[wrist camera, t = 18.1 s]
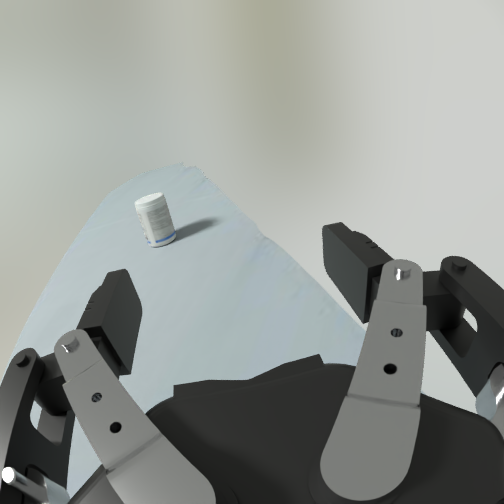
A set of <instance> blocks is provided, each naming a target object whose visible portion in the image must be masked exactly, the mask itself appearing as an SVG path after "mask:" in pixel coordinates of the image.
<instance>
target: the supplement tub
mask: <svg viewBox="0 0 504 504" xmlns="http://www.w3.org/2000/svg"><path fill="white" fill-rule="evenodd" d="M135 206H136V210H137V213H138V216H139V219H140V222H141V225H142V228H143V231H144V234H145V237H146V239H147V242H148V245H149V246H151V247H160V246H163V245H166V244H168V243H170V242H172V241H173V240H174V239H175V237H176V233H175V229H174V226H173V223H172V219H171V216H170V213H169V209H168V206H167V203H166V199H165V197H164V194H163V193H155V194H151V195H148V196H145V197H143V198H141V199H139V200H137V201H136V202H135Z"/></svg>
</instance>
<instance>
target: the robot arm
mask: <svg viewBox="0 0 504 504" xmlns="http://www.w3.org/2000/svg"><path fill="white" fill-rule="evenodd" d="M322 236H323V258H324V266H325V269H326V272H327V274H328V275H329V277H330V278H331V280H332V281H333V282H334V284H335V285H336V286H337V288H338V289H339V291H340V292H341V293H342V295H343V296H344V298H345V299H346V300H347V302H348V303H349V304H350V306H351V307H352V309H353V310H354V312H355V313H356V315H357V316H358V317H359V319H360V320H361V322H362V323H363V324H364V323H367V322H369V324H368V328H367V331H366V335H365V339H364V342H363V346H362V349H361V353H360V356H359V359H358V363H357V366H351V365H346V364H333V363H328V364H324V363H323V361H322V359H321V357H320V355H319V354H317V355H314V356H310V357H307V358H303V359H299V360H296V361H292V362H288V363H284V364H282V365H280V366H278V367H276V368H274V369H271V370H269V371H267V372H265V373H263V374H261V375H258V376H256V377H254V378H252V379H249V380H205V381H199V382H193V383H186V384H179V385H174V395H173V397H170V398H168V399H166V400H164V401H162V402H160V403H159V404H157V405H155V406H154V407H153V408H151V409H150V410H149V411H148V412H147V413H146V414H145V413H144V412H143V411H142V410H141V409H140V407H139V406H138V405H137V404H136V402H135V401H134V400H133V399H132V397H131V396H130V395H129V394H128V392H127V391H126V390H125V388H124V387H123V386H122V384H121V383H120V382H119V376H120V375H129V374H131V370H132V364H133V358H134V353H135V348H136V342H137V337H138V332H139V327H140V322H141V318H142V306H141V302H140V299H139V297H138V295H137V292H136V290H135V287H134V285H133V283H132V280H131V278H130V275H129V273H128V271H127V270H126V269H121V270H117V271H113V272H108V273H107V275H106V277H105V279H104V282H103V284H102V286H100V287H99V288H98V289H97V290H96V291H95V292H94V293H93V294H92V295H91V298H90V300H89V302H88V304H87V306H86V308H85V311H84V313H83V315H82V317H81V319H80V322H79V324H78V326H77V328H76V330H72V331H70V332H68V333H66V334H64V335H63V336H62V337H61V338H60V339H59V340H58V341H57V343H56V345H55V347H54V353H51V354H49V355H46V356H44V357H41V358H40V356H39V355H38V354H37V352H36V351H35V350H34V349H33V348H27V349H24V350H22V351H20V352H19V353H17V354H16V355H15V356H14V358H13V359H12V360H11V362H10V364H9V367H8V369H7V371H6V374H5V376H4V378H3V381H2V383H1V386H0V504H504V290H503V289H502V288H501V287H500V286H499V285H498V284H497V283H496V282H494V281H493V280H492V279H491V278H490V277H489V276H488V275H486V274H485V273H484V272H483V271H482V270H481V269H479V268H478V267H477V266H476V265H474V264H473V263H472V262H471V261H469V260H468V259H465V258H463V257H459V256H449V257H446V258H444V259H443V260H442V262H441V267H440V271H427V272H422V269H421V268H420V266H418V265H417V264H416V263H414V262H412V261H408V260H402V259H399V260H394V259H393V258H391V257H390V256H389V255H388V254H387V253H386V252H385V251H384V250H382V249H381V248H380V247H378V245H377V244H376V243H374V242H372V240H371V239H370V238H368V237H367V236H366V235H364V234H362V233H359V232H356V231H353V232H352V231H351V230H350V229H349V228H348V227H347V226H345V225H344V224H343V223H342V222H339V223H335V224H330V225H325V226H323V229H322ZM466 308H467V310H468V311H469V312H470V313H471V314H472V315H473V316H474V317H475V319H476V321H477V333H476V331H475V330H474V329H473V328H472V327H471V326H470V325H469V323H468V322H467V321H466V320H465V319H464V318H463V315H464V311H465V309H466ZM426 331H429V332H430V333H431V334H432V336H433V337H434V338H435V340H436V341H437V343H438V344H439V345H440V347H441V348H442V349H443V351H444V352H445V354H446V355H447V356H448V358H449V359H450V360H451V362H452V363H453V365H454V366H455V367H456V369H457V370H458V372H459V373H460V374H461V376H462V378H463V379H464V381H465V382H466V384H467V385H468V387H469V388H470V390H471V391H472V393H473V394H474V396H475V397H476V410H477V413H478V414H475V413H472V412H469V411H467V410H464V409H461V408H458V407H455V406H453V405H450V404H448V403H445V402H442V401H440V400H437V399H435V398H432V397H429V396H427V395H424V394H422V393H421V385H422V376H423V367H424V356H425V341H426V340H425V339H426ZM34 400H35V401H36V402H37V404H38V405H39V406H40V407H41V408H42V411H41V415H40V419H39V423H38V428H37V429H35V428H34V426H33V425H32V423H31V420H30V412H31V409H32V405H33V402H34ZM75 415H76V417H77V419H78V421H79V423H80V425H81V427H82V429H83V431H84V433H85V435H86V436H87V438H88V440H89V442H90V444H91V445H92V447H93V449H94V451H95V452H96V454H97V456H98V457H99V459H100V461H101V462H102V464H101V465H100V467H99V468H98V469H97V470H96V471H95V472H94V473H93V475H92V476H91V477H90V478H89V479H88V480H87V481H86V483H85V484H84V485H83V486H82V487H81V488H80V489H79V491H78V492H77V493H76V494H75V495H74V496H73V497H72V498H71V499H70V497H69V494H68V492H67V491H66V489H67V475H68V465H69V455H70V447H71V440H72V433H73V427H74V421H75Z"/></svg>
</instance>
